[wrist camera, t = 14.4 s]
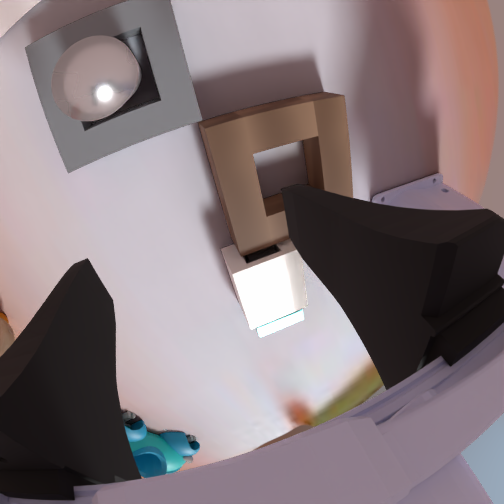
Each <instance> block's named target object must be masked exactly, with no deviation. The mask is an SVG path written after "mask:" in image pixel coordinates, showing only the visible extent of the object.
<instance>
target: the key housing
mask: <svg viewBox="0 0 504 504" xmlns="http://www.w3.org/2000/svg"><path fill="white" fill-rule="evenodd" d="M272 246H273V247H274V249H275V250H276V252H277V253H274V254H272V255H269V256H266V257H264V258H261V259H258V260H256V261H253V262H250V263H248V264H247V263H246V261H245V259H244V258H243V256H242V257H241V256H240V254H239V252H238V250H237V248H236V246H235V244H232V245H230V246H227V247H224V248H221V251H222V254H223V257H224V260H225V263H226V266H227V269H228V272H229V275H230V278H231V281H232V284H233V287H234V290H235V293H236V296H237V299H238V301H239V304H240V306H241V309H242V311H243V313H244V315H245V318H246V320H247V322H248V324H249V327H250V329H254V328H256V327H259V326H261V325H264V324H266V323H269V322H271V321H274V320H276V319H279V318H281V317H284V316H286V315H288V314H291V313H293V312H296V311H298V310H300V309H303V308H305V307H307V306H308V303H307V295H306V287H305V279H304V271H303V264H302V257H301V256H300V254H299V253H298V251H297V249H296V248H295V246H294V245H293V243H292V241H291V239H288V240H285V241H282V242H280V243H277V244H274V245H272Z"/></svg>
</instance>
